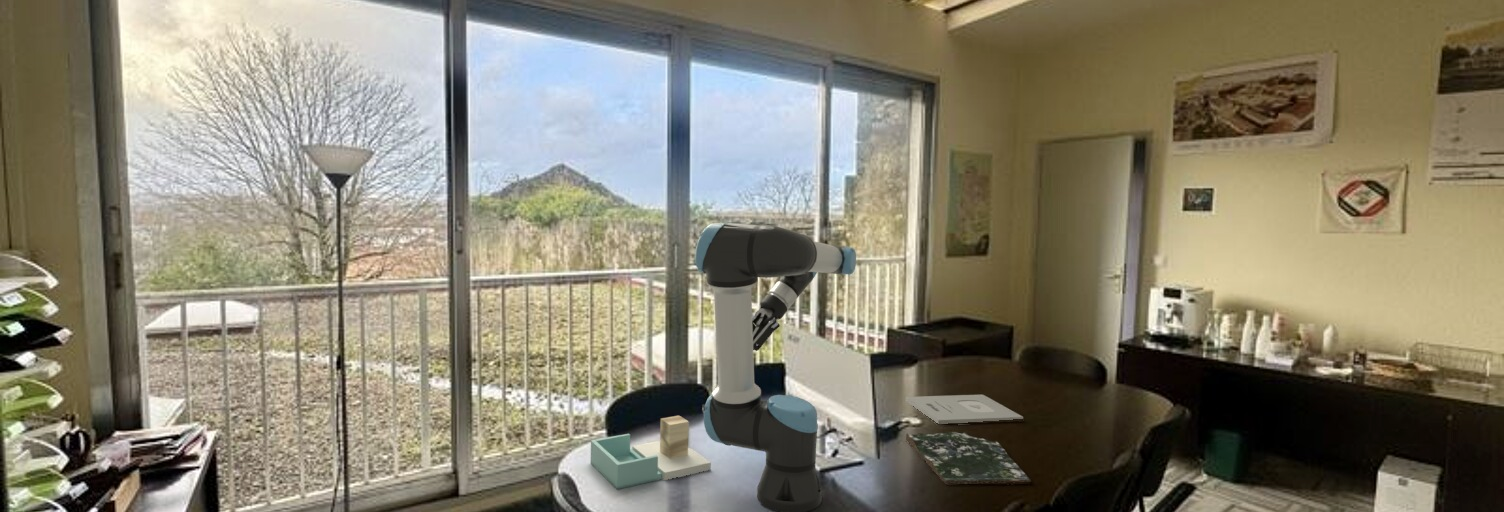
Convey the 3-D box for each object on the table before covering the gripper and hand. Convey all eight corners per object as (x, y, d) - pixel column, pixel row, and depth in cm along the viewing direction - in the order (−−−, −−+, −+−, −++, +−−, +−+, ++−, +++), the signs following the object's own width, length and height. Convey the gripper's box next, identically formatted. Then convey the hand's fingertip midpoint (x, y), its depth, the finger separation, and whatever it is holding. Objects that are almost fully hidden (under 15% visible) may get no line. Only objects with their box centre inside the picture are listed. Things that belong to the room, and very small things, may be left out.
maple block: (688, 454, 174) (688, 421, 173) (669, 458, 171) (669, 424, 170) (678, 447, 179) (679, 415, 178) (659, 451, 176) (660, 418, 175)
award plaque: (905, 402, 235) (905, 396, 234) (982, 400, 241) (982, 394, 240) (938, 426, 211) (938, 420, 210) (1022, 423, 217) (1023, 416, 216)
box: (661, 479, 163) (661, 455, 163) (617, 489, 157) (617, 464, 156) (631, 454, 178) (632, 433, 178) (590, 462, 172) (590, 440, 171)
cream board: (710, 470, 170) (710, 462, 170) (664, 480, 163) (664, 472, 163) (675, 444, 187) (675, 437, 186) (632, 453, 179) (632, 445, 179)
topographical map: (945, 487, 166) (946, 475, 165) (903, 439, 198) (903, 429, 198) (1043, 486, 168) (1044, 474, 168) (985, 439, 201) (986, 429, 201)
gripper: (803, 314, 184) (752, 380, 176) (768, 305, 198) (719, 365, 191) (788, 297, 181) (735, 363, 173) (754, 288, 195) (703, 349, 187)
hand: (727, 364), depth 182 cm, fingers open, 4 cm apart
